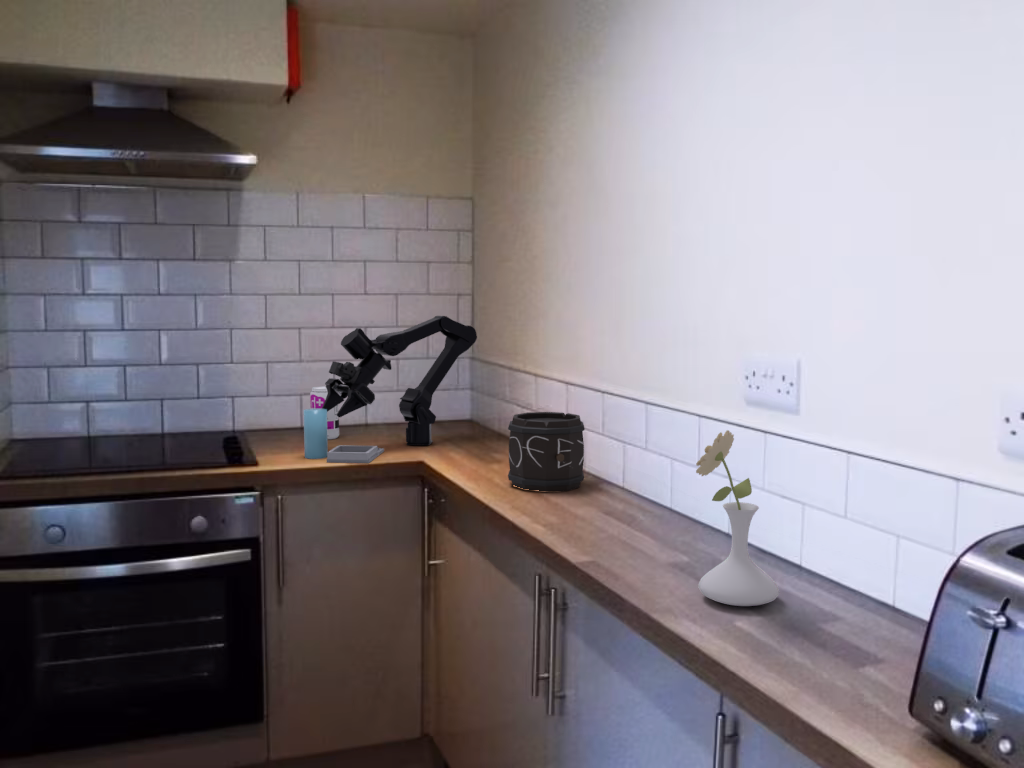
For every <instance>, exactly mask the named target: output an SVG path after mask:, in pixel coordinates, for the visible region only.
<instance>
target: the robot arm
mask: <svg viewBox="0 0 1024 768" xmlns="http://www.w3.org/2000/svg"><path fill="white" fill-rule="evenodd" d="M439 332H440V333H441V334H442V335H443V336H445V341H444V348H443V349H442V351H441V352H440V354H439V355H438V356H437V358H435V359H436V360H435V361H434V362H433V364H432V365H431V367H430V368H429V370H428V371H427V373H426V374H425V376H424V377H423V378H422V380H421V381H420V383H419V384H418V385H417V386H416V387H415V388H412V387H407V388H406V390H405V392H404V394H403V395H402V396H401V397H400V398H399V400H400V402H399V404H398V408H399V412H400V414H401V415H402V417H403V420H404V422H407V427H406V428H405V442H406V445H407V446H430V445H431V444H432V443H433V442H434V441H433V440H432V424H435V422H436V419H437V416H436V414H435V413H434V412H433V411H432V410H430V408H431V406H432V401H433V395H434V393H435V392H436V390H437V389H438V388H439V386H440V385H441V383H442V381H443V380H444V379H445V377H446V376H447V374H448V373H449V371H450V370H451V368H453V365H454V364H455V363H456V361H457V359H458V358H459V357H460V356H461V355H462V354H464V353H465V352H467V351H468V350H469V349H470V348H472V347H473V345H474V344H475V343H476V341H477V339H478V335H477V330H476V329H475V327H474V326H471V325H465V324H463V323H461V322H459V321H456V320H453V319H451V318H450V317H449V316H447V315H436V316H434V317H433V318H430V319H427V320H425V321H423V322H420V323H418V324H415V325H414V326H411V327H408V328H406V329H403V330H401V331H396V332H395V331H394V332H393V331H392V332H388V333H383V334H379V335H378V336H377V337H375V339H370V338H369V337H368V336H367V335H366V333H365V332H364V330H363V329H362V328H360V327H356V328H355V329H354V330H353V331H351V332H349V333H348V334H345V336H344V337H343V338H342V339H341V341H340V345H341V347H343V349H344V350H345V351H346V352H347V353H348V354H349V355H350V356H351V357H352V359H354V360H361V361H359V363H358V364H357V365H356V366H355V364H354V363H353V362H350V361H345V363H343V362H339V361H332V363H331V366H330V368H329V370H328V373H329V374H331V375H335V376H337V377H340V378H334V377H332V378H330V377H329V378H328V379H327V381H326V382H325V383H324V385H325V386H326V388H327V392H328V394H327V397H326V400H325V402H324V404H323V407H322V409H327V412H328V411H329V410H331V409H332V408H334V407H335V406H337V405H338V404H339V405H340V404H341V403H343V402H344V403H343V404H342V406H341V407H339V411H338V413H337V416H338V417H339V418H342V417H343V416H346V415H347V414H350V413H352V412H355V411H356V410H359V409H361V408H363V407H367V406H368V405H370V406H371V405H372V404H373V403H374V401H375V399H376V394H375V393H374V392H373V391H372V390H371V389H370V388H369V387H368V386H369V385H370V384H371V385H373V384H374V383H375V382H376V381H375V380H374V379H375V378H376V377H377V375H378V374H379V373H380V372H381V371H382V370H388V371H391V370H392V369H393V368H392V363H391V359H386V357H385V356H390V357H395V356H398V355H400V354H401V353H403V351H406V350H407V349H408V347H409V346H410V345H412V344H413V343H416V342H418V341H421V340H423V339H425V338H428V337H431V336H432V335H435V334H437V333H439Z"/></svg>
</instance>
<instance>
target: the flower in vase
mask: <svg viewBox="0 0 1024 768" xmlns="http://www.w3.org/2000/svg"><path fill="white" fill-rule="evenodd" d="M734 436H735V434H733V433H732V432H731V431H730V430H728V429H727V430H726V431H725V432H724V434H723V432H722V431H721V432H719V433H718V434H717V436H716V438H715V439H714V440H713V443H712V445H710V444H709V445H706V446H705V448H704V453H705V454H703V455H701V457H700V458H699V459H698V461H697V462H696V465H695V466H697V467H698V468H696V470H695V473H696V474H698V475H699V476H700V475H701V477H704V476H708V475H710V473H712V472H713V471H714V470H715V469H717V468H719V467H720V465H721V464H723V466H724V468H725V471H726V474H727V477H728V480H729V483H730V486H724V487H722V488H720V489H719V490H717V491H716V492H715V493H714V495H713V496H712V499H711V501H713V502H723V501H724V500H725V499H726V498H728V496H729V495H730V493H731V492H732V494H733V496H734V499H735V502H733V501H732V502H726V503H724V504H722V508H723V509H724V510H725V512H726V514H727V516H728V519H729V522H730V530H731V546H730V547H731V549H730V553H729V555H728V556H727V558H726V559H725V560H723V561H721V562H720V563H719V564H717V565H716V566H714V567H713V568H712V569H710V570H709V571H707V572H706V573H705V574H704V575H703V576H702V577H701V578H700V580H699V582H698V585H697V587H698V589H699V591H700V593H701V594H702V595H703V596H704V597H706V598H708V599H710V600H712V601H715V602H718V603H721V604H724V605H728V606H729V605H730V606H736V607H737V606H738V607H752V606H753V607H754V606H761V605H764V604H768V603H771V602H773V601H775V600H776V599H777V597H778V596H779V595H780V589H779V586H778V584H777V583H776V581H774V579H773V578H772V577H771V576H770V575H769V574H768V573H767V572H765V571H764V570H763V569H762V568H761V567H759V566H758V565H757V564H756V563H755V562H754V561H753V559H752V558H751V557H750V554H749V547H748V546H749V545H748V542H749V541H748V540H749V531H750V527H751V523H752V519H753V517H754V515H755V514H756V512H758V510H759V509H760V507H759V506H758V505H757V504H754V503H751V502H750V503H749V502H740V499H743V498H745V497H749V496H751V494H752V492H753V491H752V489H753V488H752V485H751V480H750V478H749V477H747V478H746V479H744V480H743V481H741V482H739V483H738V484H736V485H735V486H734V483H733V479H732V476H731V473H730V469H729V467H728V465H727V463H726V461H725V459H726V457H727V456H728V455H729V453H730V449H731V448H732V446H733V443H734V440H735V438H734Z"/></svg>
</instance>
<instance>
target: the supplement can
mask: <svg viewBox="0 0 1024 768" xmlns="http://www.w3.org/2000/svg"><path fill="white" fill-rule="evenodd" d="M309 394H310V397H309V399H310V401H309V403H310V409H313V408H322V407H323V404H324V402H325V400H326V397H327V394H328V392H327V388H326V385H325V386H323V385H322V386H313V387H312V388H311V391H310V393H309ZM339 406H340V404H338V405H337V406H335V407H334V408H332V409H331V410H329V411H328V412H327V438H328V440H335V439H337V438H338V437H339V436H340V417H338V416H337V413H338V411H339V410H340V407H339Z"/></svg>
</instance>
